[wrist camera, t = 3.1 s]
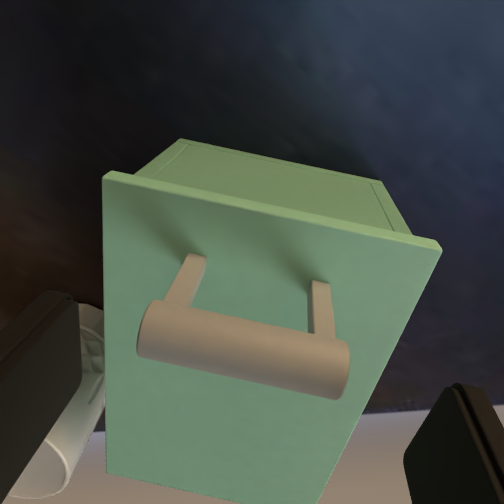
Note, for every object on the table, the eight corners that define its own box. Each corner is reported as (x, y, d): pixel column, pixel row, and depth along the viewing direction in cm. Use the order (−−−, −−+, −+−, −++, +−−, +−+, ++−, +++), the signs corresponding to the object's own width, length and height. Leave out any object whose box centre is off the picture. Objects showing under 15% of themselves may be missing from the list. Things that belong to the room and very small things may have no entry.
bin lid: (111, 169, 13) (7, 237, 9) (436, 239, 13) (511, 348, 8) (111, 460, 22) (59, 574, 17) (309, 504, 22) (311, 631, 17)
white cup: (157, 346, 29) (97, 474, 21) (96, 386, 32) (20, 512, 24) (78, 276, 27) (-29, 388, 18) (19, 326, 30) (-96, 442, 21)
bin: (179, 137, 21) (111, 190, 14) (381, 181, 21) (427, 258, 14) (161, 351, 30) (112, 459, 22) (307, 383, 29) (309, 503, 22)
